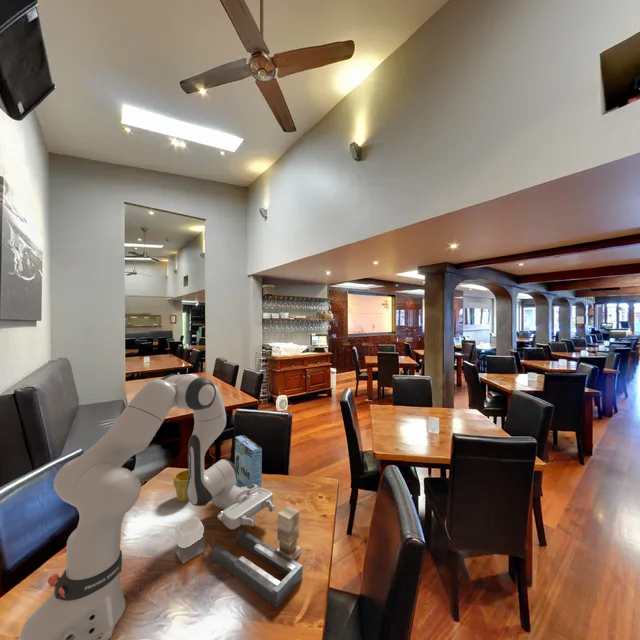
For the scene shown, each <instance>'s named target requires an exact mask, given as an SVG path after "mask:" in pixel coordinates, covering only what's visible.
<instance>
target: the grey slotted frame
mask: <svg viewBox="0 0 640 640" xmlns="http://www.w3.org/2000/svg"><path fill="white" fill-rule="evenodd" d="M236 537H237V539H236V541H237V544H238V545H239V546H241V547H243V548H245V549H246V550H248V551H249V552H251V553H252V554H254V555H255V556H257V557H259V558H260V559H262V560H263V561H265V562H266V563H268V564H269V565H271V566H273V567H274V568H275V569H277V570H279V571H280V572H281V573H283V574H285V577H284V578H282V579H281V581H280V580H279V579H277V578H276V577H274V576H273V575H271V574H270V573H268V572H266V571H265V570H264V569H263V568H261V567H259V566H257V564H254V563H253V562H252V561H251V560H249V559H247V558H246V557H245V556H243V555H242V556H240V557H239V558H238V557H237V556H235V555H233V554H232V553H230V552H229V551H227V550H226V549H225V548H224V547H221V545H219V544H217V545H216V546H214V547H213V561H214V562H215V563H216V564H218V565H219V566H220V567H222V568H223V569H225V570H226V571H227V572H228V573H230V574H231V575H232V576H234V577H235V578H237V579H238V580H239V581H240V582H242V583H243V584H244V585H246V586H247V587H249V588H250V589H251V590H253V591H254V592H255V593H256V594H257V595H259V596H261V598H263V599H264V600H266V601H267V602H269V603H270V604H271V605H273V606H274V607H275V608H278V607H279V606H280V605H281V604H282V603H283V602H284V600H285V599H286V598H287V597H288V596H289V595H290V593H291V592H292V591H293V590H294V589H295V588H296V587H297V586H298V585H299V584H300V583H301V581H302V580H303V564H301V563H300V562H297V561H296V560H293V559H291V558H289V557H287V556H286V555H284V554H282V553H281V552H279V551H277V549H276V548H274V547H272V546H271V545H270V544H268V543H265V542H264V541H262V540H261V539H259V538H257V537H255V536H254V535H252V534H250V533H249V532H247V531H245V530H244V529H242V528H240V529H238V530H237V536H236Z"/></svg>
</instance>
